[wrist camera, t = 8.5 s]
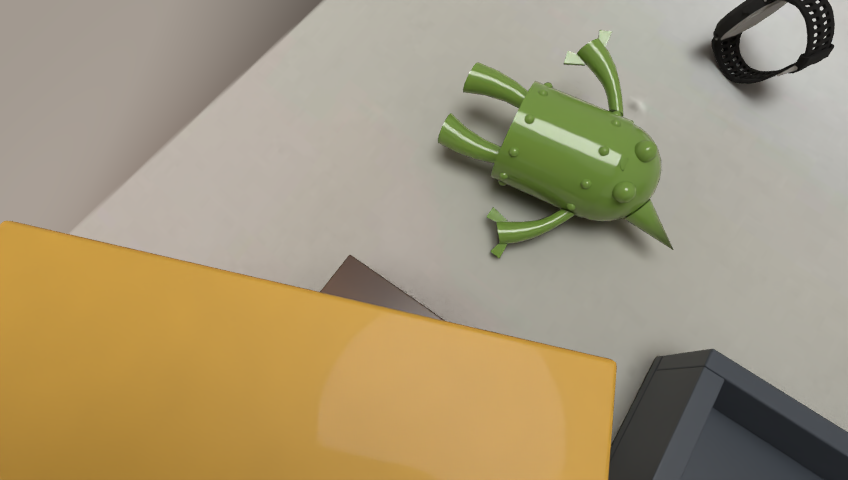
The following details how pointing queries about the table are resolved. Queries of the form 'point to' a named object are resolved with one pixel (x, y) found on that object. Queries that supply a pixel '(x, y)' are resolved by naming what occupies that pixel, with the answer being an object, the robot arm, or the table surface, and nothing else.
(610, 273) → the table surface
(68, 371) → the puzzle block
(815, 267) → the table surface
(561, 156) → the character figure
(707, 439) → the tray
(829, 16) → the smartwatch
